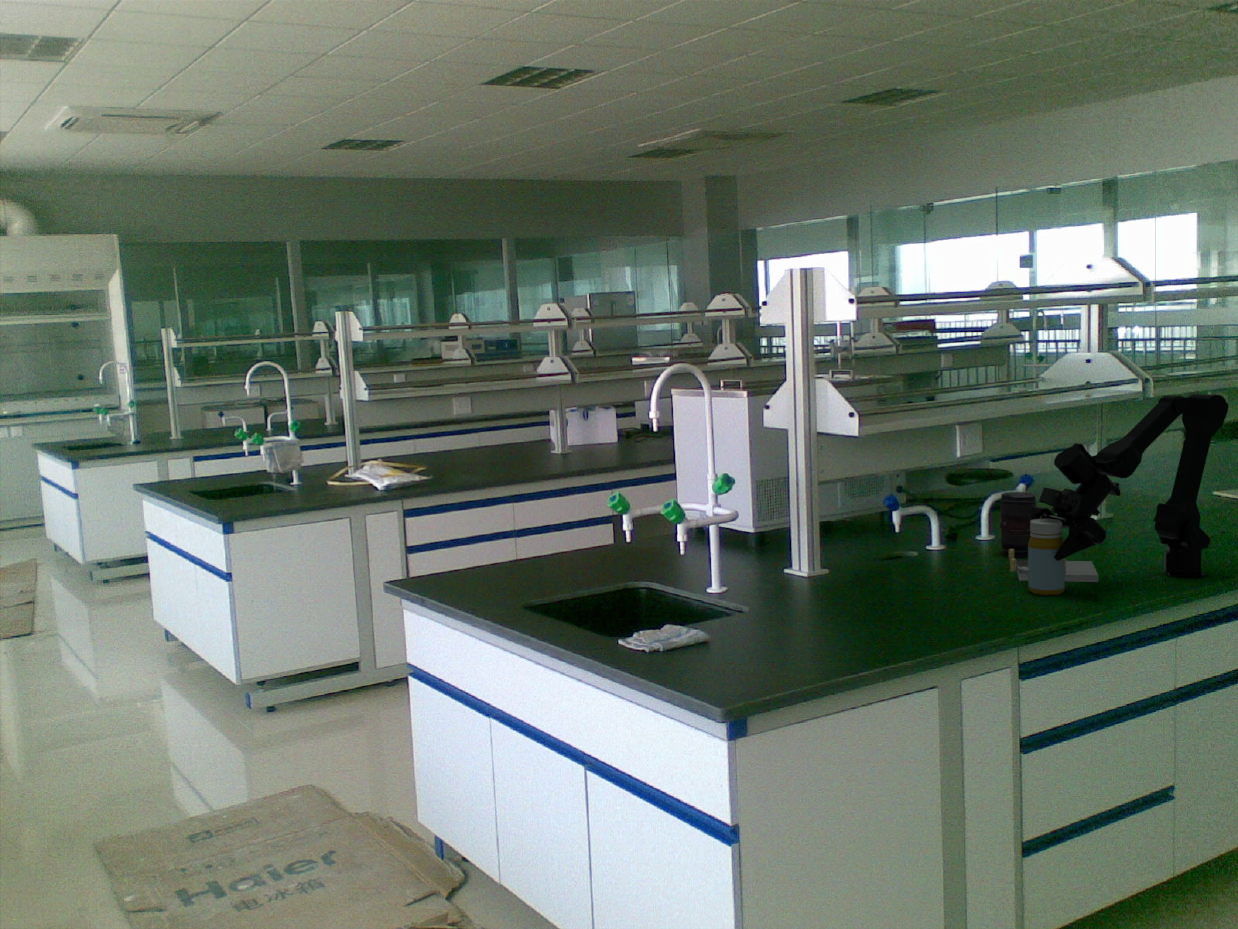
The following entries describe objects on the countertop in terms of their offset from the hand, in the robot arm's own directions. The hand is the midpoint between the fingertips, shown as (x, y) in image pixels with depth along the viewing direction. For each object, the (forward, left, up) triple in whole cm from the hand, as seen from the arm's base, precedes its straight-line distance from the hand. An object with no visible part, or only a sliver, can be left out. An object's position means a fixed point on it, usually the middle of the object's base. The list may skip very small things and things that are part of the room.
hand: (1041, 555), depth 225 cm
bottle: (-1, -1, -8) cm, 8 cm away
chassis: (-4, -18, -8) cm, 20 cm away
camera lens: (+3, -38, -8) cm, 39 cm away
